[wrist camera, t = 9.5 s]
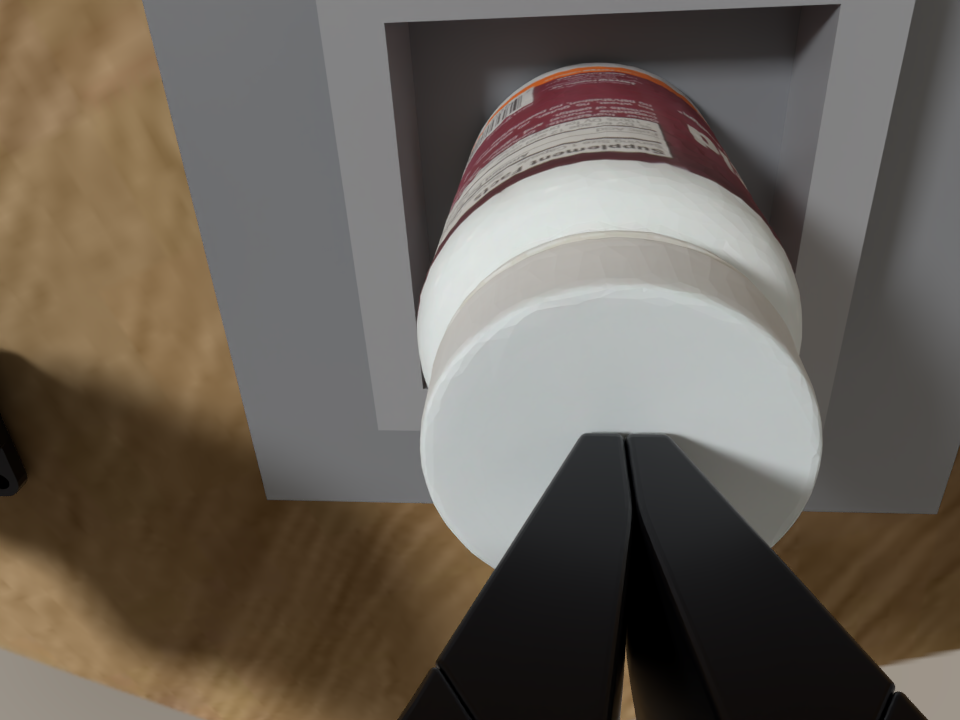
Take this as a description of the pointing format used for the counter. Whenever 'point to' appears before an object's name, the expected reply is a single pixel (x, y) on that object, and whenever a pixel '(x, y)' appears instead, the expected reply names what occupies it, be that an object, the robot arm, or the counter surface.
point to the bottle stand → (444, 155)
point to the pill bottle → (608, 309)
